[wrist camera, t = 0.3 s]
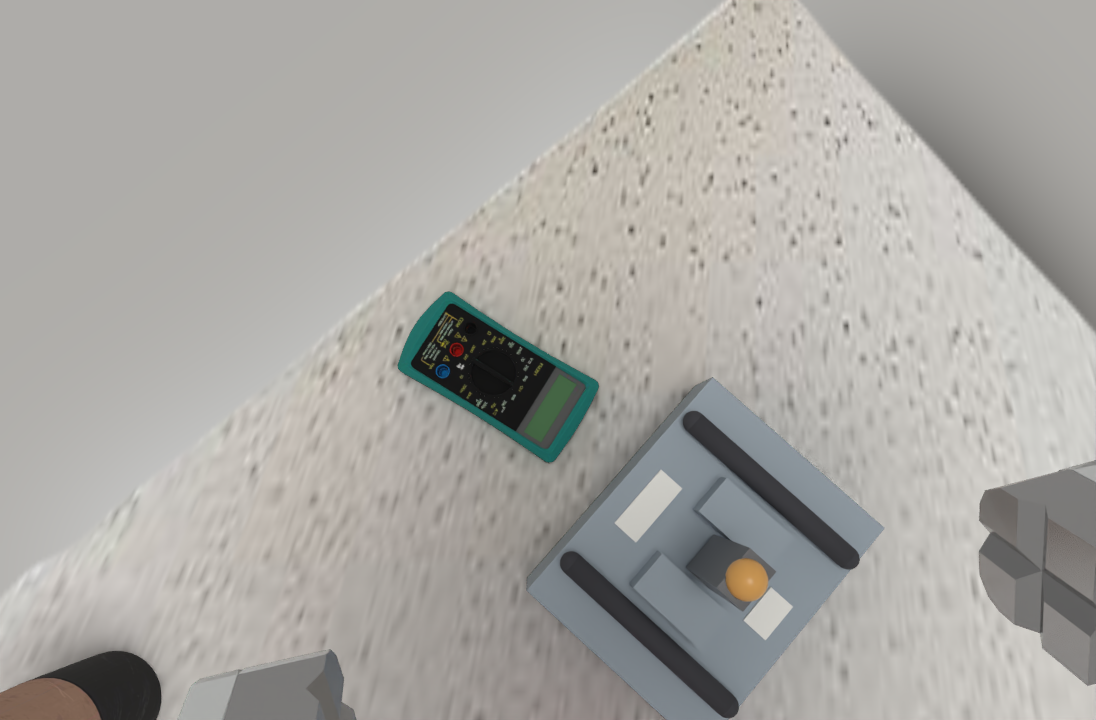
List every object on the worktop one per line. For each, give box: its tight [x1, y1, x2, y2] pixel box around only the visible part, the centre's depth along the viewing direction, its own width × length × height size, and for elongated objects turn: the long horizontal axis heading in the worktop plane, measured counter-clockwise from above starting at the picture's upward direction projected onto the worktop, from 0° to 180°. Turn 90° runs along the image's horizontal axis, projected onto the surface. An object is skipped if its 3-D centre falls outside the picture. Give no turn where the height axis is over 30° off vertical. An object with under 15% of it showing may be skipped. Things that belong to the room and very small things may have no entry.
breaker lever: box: [686, 534, 776, 612], centre depth 49 cm, size 2×3×11 cm
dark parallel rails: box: [560, 411, 860, 718], centre depth 54 cm, size 16×15×2 cm
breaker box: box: [527, 377, 884, 720], centre depth 57 cm, size 16×20×8 cm
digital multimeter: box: [398, 291, 599, 463], centre depth 61 cm, size 7×15×3 cm, turn 58°
